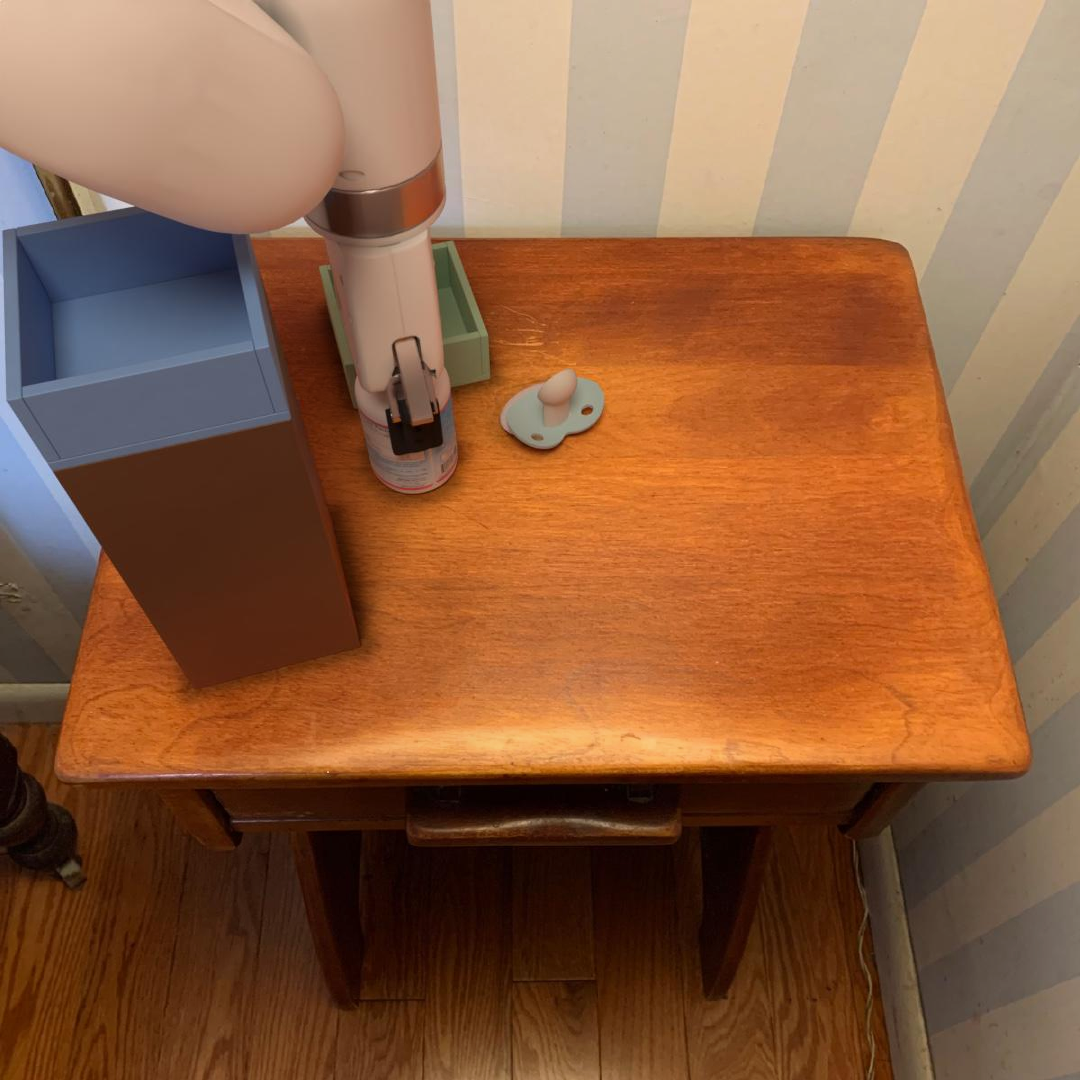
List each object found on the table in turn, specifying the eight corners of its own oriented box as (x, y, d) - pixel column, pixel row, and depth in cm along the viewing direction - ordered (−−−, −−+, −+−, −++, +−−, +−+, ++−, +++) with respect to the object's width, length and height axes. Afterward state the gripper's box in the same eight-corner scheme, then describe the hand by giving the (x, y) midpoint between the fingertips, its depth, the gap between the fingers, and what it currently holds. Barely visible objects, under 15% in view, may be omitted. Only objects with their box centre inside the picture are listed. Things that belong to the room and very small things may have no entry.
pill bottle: (427, 415, 74) (412, 299, 64) (475, 470, 71) (466, 357, 62) (354, 454, 72) (327, 340, 62) (400, 512, 69) (380, 402, 60)
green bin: (354, 409, 74) (344, 365, 70) (328, 311, 79) (318, 266, 75) (490, 379, 76) (488, 335, 72) (456, 285, 81) (453, 239, 77)
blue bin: (194, 690, 62) (5, 400, 40) (176, 552, 67) (1, 229, 45) (360, 647, 64) (269, 346, 41) (331, 516, 69) (235, 187, 47)
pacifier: (482, 418, 74) (530, 471, 71) (476, 355, 69) (528, 410, 66) (564, 374, 76) (613, 424, 73) (565, 311, 71) (618, 362, 68)
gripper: (268, 87, 55) (324, 326, 70) (326, 307, 46) (376, 527, 62) (405, 64, 57) (431, 304, 72) (486, 275, 48) (497, 498, 63)
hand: (405, 405), depth 66 cm, fingers closed on pill bottle, 6 cm apart
